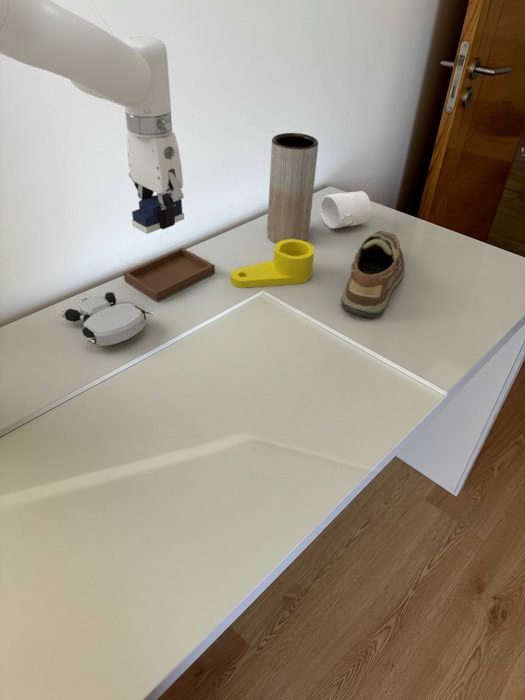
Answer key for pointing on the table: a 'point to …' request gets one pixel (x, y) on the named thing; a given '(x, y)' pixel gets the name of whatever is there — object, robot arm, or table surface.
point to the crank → (279, 267)
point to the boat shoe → (374, 275)
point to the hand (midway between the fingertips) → (158, 221)
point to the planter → (291, 186)
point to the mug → (345, 209)
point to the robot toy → (107, 319)
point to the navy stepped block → (152, 214)
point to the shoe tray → (169, 274)
